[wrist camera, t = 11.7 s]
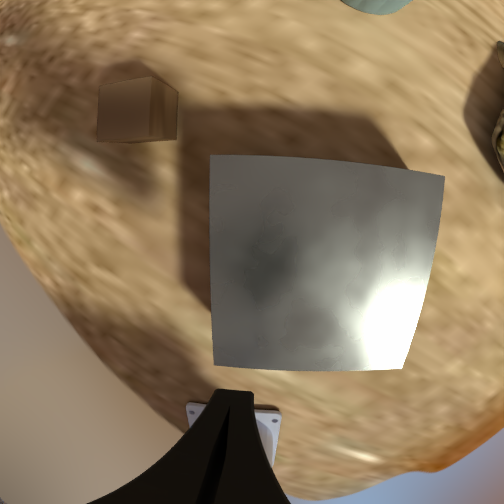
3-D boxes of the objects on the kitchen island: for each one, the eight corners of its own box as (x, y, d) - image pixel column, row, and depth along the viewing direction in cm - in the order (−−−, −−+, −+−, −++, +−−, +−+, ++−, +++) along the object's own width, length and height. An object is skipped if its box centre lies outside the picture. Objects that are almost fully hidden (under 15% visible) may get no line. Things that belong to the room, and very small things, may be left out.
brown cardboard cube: (176, 140, 16) (148, 136, 12) (131, 143, 16) (96, 141, 12) (178, 92, 15) (151, 75, 11) (133, 97, 15) (99, 85, 11)
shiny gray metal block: (382, 331, 19) (401, 368, 15) (225, 326, 19) (213, 365, 16) (409, 170, 15) (444, 176, 11) (226, 155, 16) (210, 154, 12)
